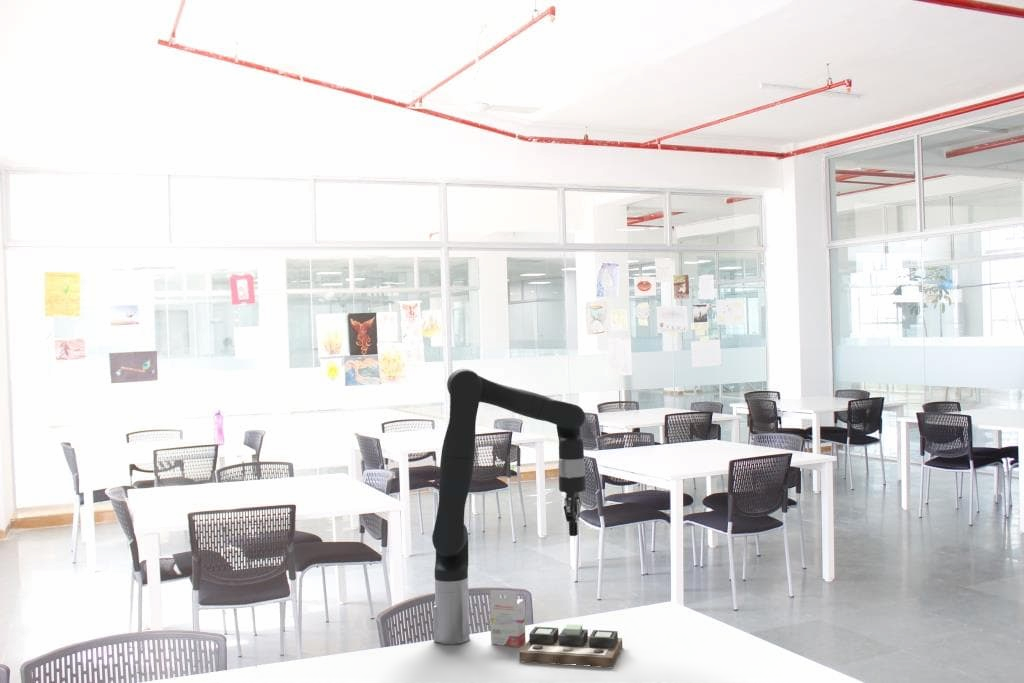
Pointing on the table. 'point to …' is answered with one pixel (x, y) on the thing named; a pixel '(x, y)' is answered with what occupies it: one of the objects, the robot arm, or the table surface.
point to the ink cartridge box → (507, 619)
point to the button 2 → (603, 634)
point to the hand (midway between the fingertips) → (573, 535)
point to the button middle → (573, 630)
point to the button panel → (571, 648)
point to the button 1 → (544, 631)
